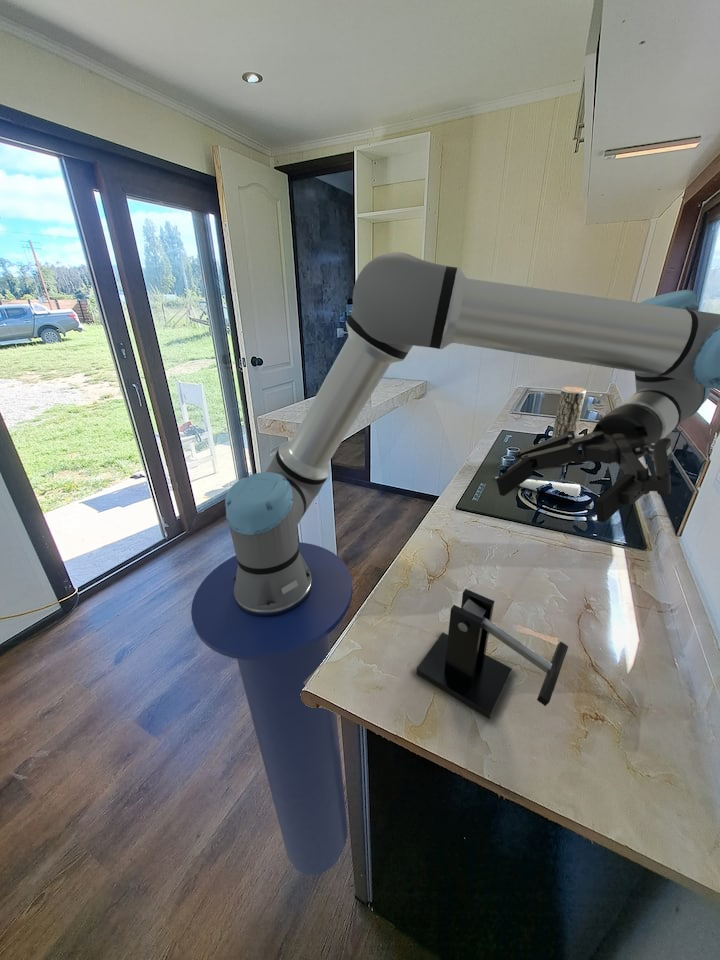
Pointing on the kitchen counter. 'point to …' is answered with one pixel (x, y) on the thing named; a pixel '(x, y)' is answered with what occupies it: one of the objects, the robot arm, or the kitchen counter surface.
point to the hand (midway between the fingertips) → (543, 498)
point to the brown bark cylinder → (568, 411)
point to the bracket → (466, 659)
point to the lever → (526, 652)
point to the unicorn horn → (566, 488)
